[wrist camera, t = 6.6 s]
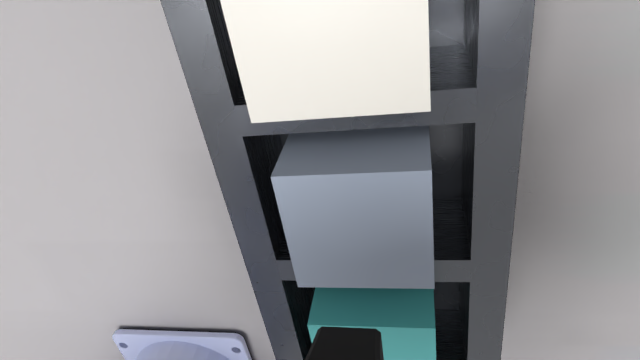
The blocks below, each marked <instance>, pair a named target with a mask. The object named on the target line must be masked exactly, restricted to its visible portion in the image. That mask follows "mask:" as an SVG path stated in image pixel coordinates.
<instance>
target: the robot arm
mask: <svg viewBox="0 0 640 360" xmlns="http://www.w3.org/2000/svg"><path fill="white" fill-rule="evenodd" d="M112 338H113V340H114V342H115V343H116V345H117V347H118V348H119V350H120V352H121V353H122V355H123V357H124V358H125V360H252V359H251V356H250V353H249V351H248V348H247V345H246V342H245V340H244V338H243V337H242V336H241V335H239V334H237V333H218V332H189V331H160V330H131V329H118V330H116V331H115V332H114V334H113V336H112ZM305 360H384V357H383V347H382V338H381V332H380V331H378V330H377V329H372V328H348V327H324V326H322V327H320V328H319V329H318V330H317V333H316V335H315V338H314V340H313V343H312V345H311V347H310V349H309V352H308V354H307V356H306V358H305Z"/></svg>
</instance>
